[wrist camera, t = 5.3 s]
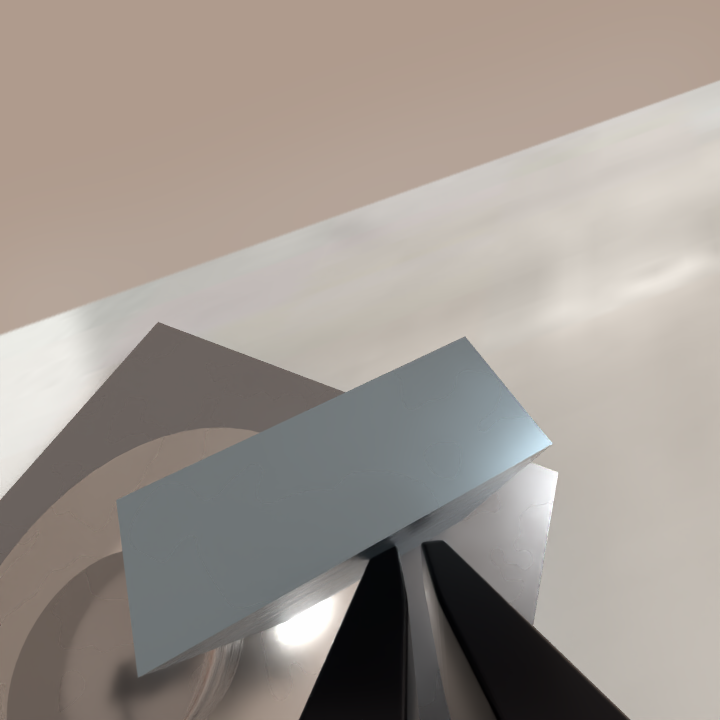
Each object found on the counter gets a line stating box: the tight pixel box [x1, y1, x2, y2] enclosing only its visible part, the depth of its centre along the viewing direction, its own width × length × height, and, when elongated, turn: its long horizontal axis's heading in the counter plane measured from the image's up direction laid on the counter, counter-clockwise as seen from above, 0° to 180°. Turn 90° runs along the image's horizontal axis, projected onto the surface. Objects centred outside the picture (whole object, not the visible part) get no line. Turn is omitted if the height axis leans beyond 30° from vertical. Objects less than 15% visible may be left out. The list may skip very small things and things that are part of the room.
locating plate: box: [0, 322, 558, 720], centre depth 10 cm, size 18×18×6 cm
